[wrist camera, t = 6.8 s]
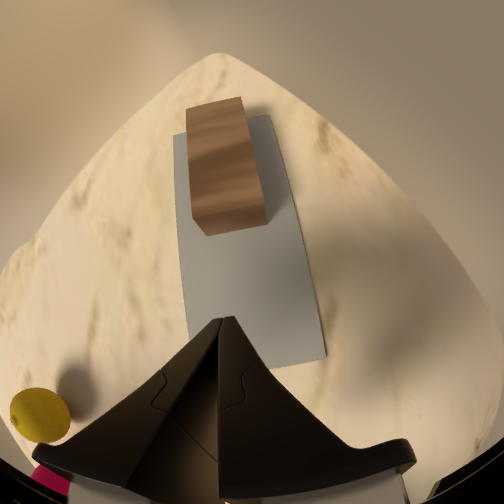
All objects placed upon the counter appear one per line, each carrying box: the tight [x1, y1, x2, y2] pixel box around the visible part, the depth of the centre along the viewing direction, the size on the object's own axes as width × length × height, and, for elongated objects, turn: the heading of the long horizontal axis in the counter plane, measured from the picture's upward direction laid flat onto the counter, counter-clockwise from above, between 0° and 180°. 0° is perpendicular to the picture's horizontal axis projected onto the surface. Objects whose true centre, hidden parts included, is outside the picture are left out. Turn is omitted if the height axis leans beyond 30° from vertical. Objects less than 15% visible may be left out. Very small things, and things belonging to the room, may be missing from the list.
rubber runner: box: [173, 115, 326, 369], centre depth 22 cm, size 23×10×1 cm, turn 10°
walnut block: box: [186, 97, 267, 237], centre depth 22 cm, size 4×5×11 cm
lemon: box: [10, 388, 71, 443], centre depth 15 cm, size 6×6×8 cm
